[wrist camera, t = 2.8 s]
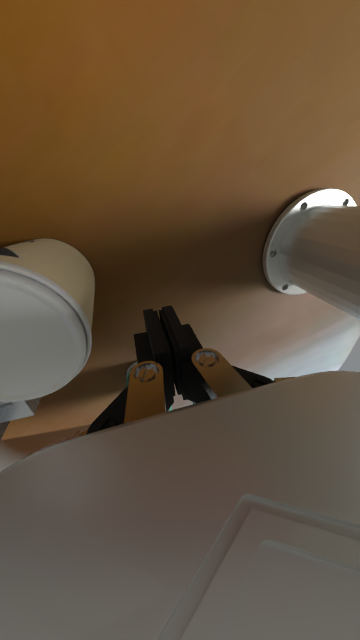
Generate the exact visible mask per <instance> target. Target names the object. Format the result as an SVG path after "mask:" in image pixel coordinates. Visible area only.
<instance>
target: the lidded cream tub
mask: <svg viewBox="0 0 360 640" xmlns="http://www.w3.org/2000/svg"><path fill="white" fill-rule="evenodd" d="M94 294H95V277H94V273H93V270H92V267H91V265H90V264H89V262H88V261H87V259H86V258H85V257H84V256H83V255H82V254H81V253H80V252H79V251H78V250H76V249H75V248H74V247H72V246H70V245H68V244H66V243H64V242H61V241H58V240H54V239H46V238H42V239H34V240H29V241H25V242H21V243H18V244H14V245H11V246H7V247H3V248H0V402H18V401H26V400H31V399H35V398H39V397H43V396H45V395H48V394H51V393H53V392H55V391H57V390H59V389H60V388H62V387H63V386H65V385H66V384H67V383H69V382H70V381H71V380H72V379H73V378H74V377H75V376H76V375H77V374H78V373H79V372H80V371H81V370H82V369H83V367H84V366H85V364H86V362H87V360H88V358H89V355H90V352H91V347H92V333H91V328H92V318H93V307H94Z"/></svg>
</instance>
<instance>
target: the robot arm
mask: <svg viewBox="0 0 360 640" xmlns="http://www.w3.org/2000/svg"><path fill="white" fill-rule="evenodd" d="M263 270H264V274H265V277H266V279H267V281H268V282H269V283H270V285H271V286H273V287H274V288H275V289H276V290H278V291H280V292H282V293H285V294H288V295H298V294H304V293H307V292H308V293H310V294H312V295H314V296H316V297H318V298H320V299H322V300H324V301H325V302H327V303H329V304H331V305H333V306H335V307H337V308H339V309H341V310H343V311H345V312H346V313H348V314H350V315H352V316H354V317H356V318H358V319H360V206H356V204H355V202H354V200H353V199H352V197H351V196H350V195H349V194H347V193H346V192H345V191H342V190H340V189H333V188H326V189H317V190H314V191H311V192H308V193H306V194H304V195H302V196H301V197H299V198H298V199H296V200H295V201H294V202H292V203H291V204H290V205H289V206H288V207H287V208H286V209H285V210H284V211H283V212H282V213H281V215H280V216H279V217H278V219H277V220H276V222H275V223H274V225H273V227H272V229H271V231H270V232H269V235H268V237H267V240H266V243H265V246H264V252H263ZM143 314H144V320H145V326H146V332H144V333H139V334H134V340H135V347H136V355H137V362H138V364H137V365H136V366H134V367H133V369H132V370H131V372H130V378H129V385H128V386H127V387H126V388H125V389H124V390H123V391H122V392H121V393H120V395H119V396H118V397H117V398H116V399H115V400H114V401H113V402H112V403H111V404H110V405H109V406H108V407H107V408H106V409H105V410H104V411H103V412H102V413H101V414H100V415H99V416H98V417H97V419H96V420H95V421H94V422H93V423H92V424H91V426H90V427H89V429H88V430H86V431H84V432H82V433H81V431H78V432H76V433H74V434H72V435H69V436H67V437H65V438H63V439H61V440H59V441H57V442H55V443H53V444H50V445H48V446H46V447H44V448H42V449H40V450H38V451H36V452H34V453H31V454H29V455H28V456H26V457H24V458H23V459H21V460H19V461H18V462H16V463H14V464H13V465H11V466H9V467H8V468H6V469H4V470H3V471H1V472H0V640H360V372H353V371H326V372H319V373H313V374H309V375H304V376H299V377H287V378H275V379H274V381H272V380H271V379H269V378H267V377H265V376H262V375H259V374H256V373H253V372H249V371H246V370H243V369H240V368H237V367H234V366H231V365H230V364H229V363H228V361H227V360H226V359H225V358H224V357H223V356H222V355H221V354H220V353H219V352H218V351H216V350H214V349H209V348H203V347H202V346H201V344H200V342H199V340H198V339H197V337H196V335H195V333H194V332H193V330H192V328H191V326H190V325H189V324H186V325H181V323H180V321H179V319H178V317H177V315H176V313H175V311H174V309H173V307H172V306H166V307H162V310H159V315H160V319H159V316H158V314H157V311H153V309H148V310H143ZM174 384H175V387H176V390H177V393H178V395H180V394H182V397H183V400H187V399H188V400H190V401H192V402H193V405H189V406H186V407H182V408H179V409H175V410H171V411H168V410H169V409H170V407H171V406H172V404H173V403H174V398H173V396H175V387H174Z"/></svg>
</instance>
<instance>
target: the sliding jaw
mask: <svg viewBox="0 0 360 640" xmlns="http://www.w3.org/2000/svg"><path fill="white" fill-rule="evenodd" d="M40 399H41V397H39V398H35V399H31V400H26V401H18V402H0V440H1V438H2V436H3V434H4V432H5V430H6V428H7V426H8V424H9V422H10V421H11V420H15V419H20V418H24V417H28V416H33V415H35V412H36V410H37V407H38V405H39V402H40Z"/></svg>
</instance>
